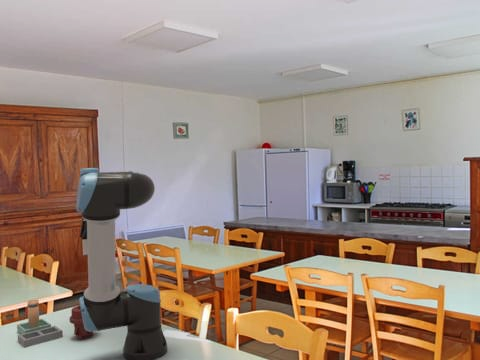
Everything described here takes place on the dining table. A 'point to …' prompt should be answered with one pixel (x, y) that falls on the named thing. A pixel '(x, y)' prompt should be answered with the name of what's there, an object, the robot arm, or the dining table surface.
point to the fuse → (33, 314)
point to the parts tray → (25, 328)
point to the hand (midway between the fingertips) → (93, 256)
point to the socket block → (40, 336)
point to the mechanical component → (79, 323)
